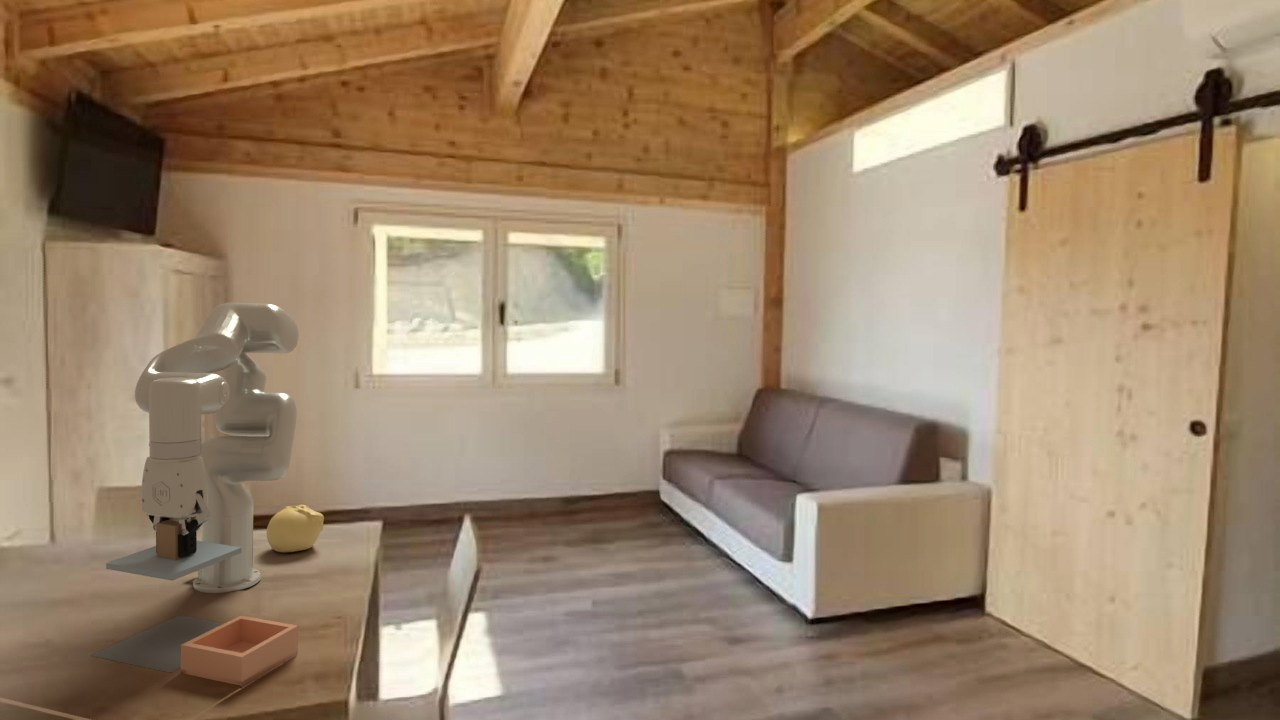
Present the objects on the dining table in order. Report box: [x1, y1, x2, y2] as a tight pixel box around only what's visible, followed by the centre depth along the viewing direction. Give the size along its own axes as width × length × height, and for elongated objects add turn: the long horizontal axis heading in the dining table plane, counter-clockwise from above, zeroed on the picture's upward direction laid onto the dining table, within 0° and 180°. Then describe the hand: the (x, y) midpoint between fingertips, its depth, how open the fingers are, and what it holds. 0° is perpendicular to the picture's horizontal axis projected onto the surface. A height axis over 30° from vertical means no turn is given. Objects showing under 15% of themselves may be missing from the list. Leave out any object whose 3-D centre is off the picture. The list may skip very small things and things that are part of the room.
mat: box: [90, 614, 225, 674], centre depth 125 cm, size 17×17×1 cm
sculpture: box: [266, 504, 325, 553], centre depth 176 cm, size 12×12×11 cm
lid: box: [105, 518, 241, 581], centre depth 124 cm, size 14×14×7 cm
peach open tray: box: [180, 615, 299, 689], centre depth 119 cm, size 12×12×5 cm
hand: (176, 552), depth 124 cm, fingers closed on lid, 4 cm apart
